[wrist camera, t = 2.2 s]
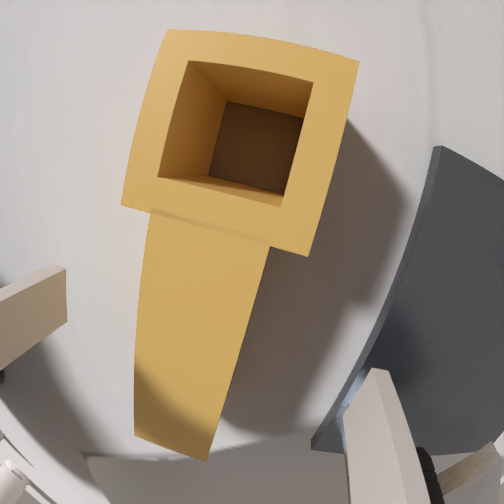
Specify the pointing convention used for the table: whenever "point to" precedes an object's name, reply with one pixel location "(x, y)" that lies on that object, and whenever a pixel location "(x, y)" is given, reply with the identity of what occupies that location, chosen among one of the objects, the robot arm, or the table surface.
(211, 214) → the link
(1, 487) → the bottle
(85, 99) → the table surface
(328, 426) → the base
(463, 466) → the block
